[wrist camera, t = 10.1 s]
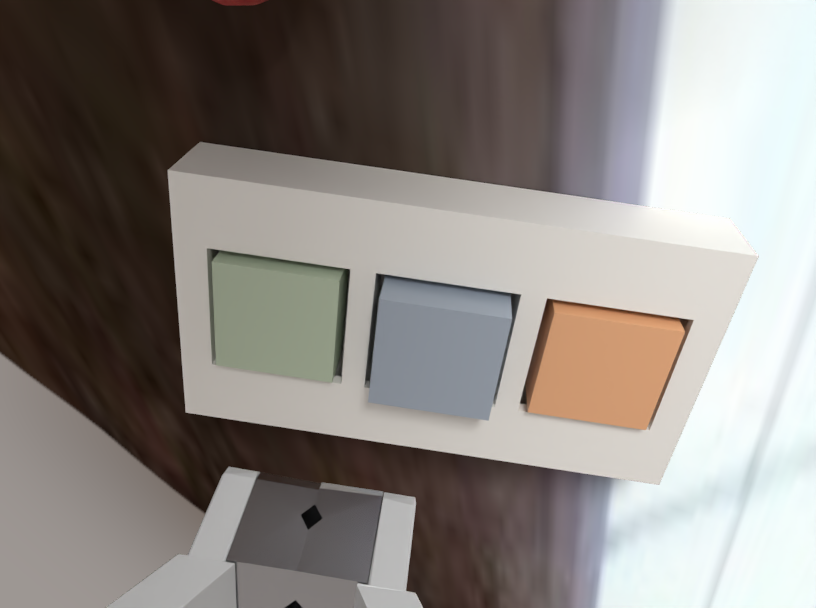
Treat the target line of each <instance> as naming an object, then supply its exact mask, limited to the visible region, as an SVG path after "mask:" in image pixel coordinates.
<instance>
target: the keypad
mask: <svg viewBox="0 0 816 608" xmlns="http://www.w3.org/2000/svg"><path fill="white" fill-rule="evenodd" d="M168 183H169V197H170V210H171V223H172V237H173V250H174V263H175V277H176V290H177V303H178V317H179V330H180V343H181V357H182V370H183V383H184V397H185V410H186V413H192V414H199V415H205V416H212V417H218V418H225V419H231V420H238V421H244V422H251V423H257V424H264V425H271V426H277V427H284V428H290V429H297V430H303V431H310V432H316V433H323V434H329V435H336V436H342V437H349V438H356V439H362V440H369V441H375V442H382V443H388V444H395V445H401V446H408V447H414V448H421V449H427V450H434V451H441V452H447V453H454V454H460V455H467V456H473V457H480V458H486V459H493V460H499V461H506V462H512V463H519V464H526V465H532V466H539V467H545V468H552V469H558V470H565V471H571V472H578V473H584V474H591V475H597V476H604V477H611V478H617V479H624V480H630V481H637V482H643V483H650V484H656V485H659V484H660V482H661V479H662V477H663V475H664V473H665V470H666V468H667V466H668V463H669V461H670V459H671V457H672V454H673V452H674V450H675V447H676V445H677V443H678V440H679V438H680V436H681V434H682V431H683V429H684V427H685V424H686V422H687V420H688V418H689V415H690V413H691V411H692V408H693V406H694V404H695V401H696V399H697V397H698V395H699V392H700V390H701V388H702V385H703V383H704V381H705V379H706V376H707V374H708V372H709V369H710V367H711V365H712V362H713V360H714V358H715V356H716V353H717V351H718V349H719V346H720V344H721V342H722V340H723V337H724V335H725V333H726V330H727V328H728V326H729V323H730V321H731V319H732V317H733V314H734V312H735V310H736V307H737V305H738V303H739V301H740V298H741V296H742V294H743V291H744V289H745V287H746V284H747V282H748V280H749V278H750V275H751V273H752V271H753V268H754V266H755V264H756V262H757V259H758V257H759V256H758V254H757V253H756V252H755V250H754V249H753V248H752V246H751V245H750V244H749V242H748V241H747V240H746V238H745V237H744V236H743V235H742V233H741V232H740V231H739V229H738V228H737V227H736V225H735V224H734V223H733V221H732V220H731V219H730V218H724V217H717V216H711V215H704V214H697V213H690V212H683V211H676V210H669V209H662V208H655V207H648V206H641V205H634V204H627V203H620V202H614V201H607V200H600V199H593V198H586V197H579V196H572V195H565V194H558V193H551V192H544V191H537V190H530V189H523V188H516V187H510V186H503V185H496V184H489V183H482V182H475V181H468V180H461V179H454V178H447V177H440V176H433V175H426V174H419V173H412V172H406V171H399V170H392V169H385V168H378V167H371V166H364V165H357V164H350V163H343V162H336V161H329V160H322V159H315V158H309V157H302V156H295V155H288V154H281V153H274V152H267V151H260V150H253V149H246V148H239V147H232V146H225V145H218V144H211V143H205V142H199V143H198V144H197V145H196V146H195V147H193V148H192V149H191V150H190V151H189V152H188V153H187V154H185V155H184V156H183V157H182V158H181V159H180V160H179V161H177V162H176V163H175V164H174V165H173V166H172V167H171V168H169V169H168ZM220 250H223V251H229V252H236V253H243V254H250V255H256V256H263V257H270V258H277V259H284V260H290V261H297V262H304V263H311V264H317V265H324V266H331V267H338V268H345V269H349V274H348V287H347V300H346V312H345V325H344V338H343V349H342V353H341V356H340V359H339V362H338V366H337V369H336V372H335V375H334V378H333V382H332V383H331V382H324V381H317V380H311V379H304V378H298V377H291V376H284V375H278V374H271V373H265V372H258V371H251V370H245V369H238V368H231V367H225V366H218V365H216V353H215V329H214V305H213V282H212V261H213V259H214V258H215V257H216V255H217V254H218V253H219V251H220ZM385 275H392V276H399V277H406V278H412V279H419V280H426V281H433V282H439V283H446V284H453V285H460V286H466V287H473V288H480V289H487V290H494V291H500V292H507V293H511V308H512V322H511V326H510V331H509V335H508V339H507V344H506V348H505V352H504V356H503V361H502V365H501V369H500V374H499V378H498V382H497V386H496V391H495V395H494V399H493V404H492V408H491V412H490V416H489V421H487V420H481V419H474V418H468V417H461V416H454V415H448V414H441V413H435V412H428V411H421V410H415V409H408V408H402V407H395V406H389V405H382V404H375V403H369V402H368V397H369V388H370V379H371V370H372V361H373V351H374V342H375V333H376V324H377V314H378V305H379V298H380V294H381V290H382V286H383V282H384V278H385ZM547 298H548V299H555V300H561V301H568V302H575V303H582V304H588V305H595V306H602V307H609V308H616V309H622V310H629V311H636V312H643V313H649V314H656V315H663V316H670V317H676V318H679V320H680V322H681V324H682V326H683V328H684V330H685V334H684V336H683V339H682V341H681V344H680V346H679V349H678V351H677V354H676V356H675V359H674V361H673V364H672V367H671V369H670V372H669V374H668V377H667V379H666V382H665V384H664V387H663V389H662V392H661V394H660V397H659V399H658V402H657V404H656V407H655V409H654V412H653V414H652V417H651V419H650V422H649V424H648V427H647V429H646V430H641V429H635V428H628V427H622V426H615V425H608V424H602V423H595V422H588V421H582V420H575V419H569V418H562V417H555V416H549V415H542V414H536V413H529V412H528V410H527V398H526V387H525V381H526V377H527V373H528V370H529V366H530V362H531V358H532V354H533V350H534V347H535V343H536V339H537V335H538V331H539V327H540V324H541V320H542V316H543V312H544V308H545V304H546V301H547Z"/></svg>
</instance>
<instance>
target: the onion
mask: <svg viewBox="0 0 816 608" xmlns="http://www.w3.org/2000/svg"><path fill="white" fill-rule="evenodd" d="M213 1H215V2H217V3H219V4H222V5H257V4H260V3H263V2H265V1H268V0H213Z"/></svg>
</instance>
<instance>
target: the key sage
mask: <svg viewBox="0 0 816 608" xmlns="http://www.w3.org/2000/svg"><path fill="white" fill-rule="evenodd" d="M348 274H349V269H345V268H338V267H331V266H324V265H317V264H311V263H304V262H297V261H290V260H284V259H277V258H270V257H263V256H256V255H250V254H243V253H236V252H229V251H223V250H220V251H219V253H218V254H217V255H216V257H215V258H214V259H213V261H212V282H213V305H214V329H215V353H216V365H218V366H225V367H231V368H238V369H245V370H251V371H258V372H265V373H271V374H278V375H284V376H291V377H298V378H304V379H311V380H317V381H324V382H331V383H332V382H333V378H334V375H335V372H336V369H337V366H338V362H339V359H340V356H341V353H342V349H343V338H344V325H345V312H346V300H347V287H348Z"/></svg>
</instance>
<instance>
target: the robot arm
mask: <svg viewBox="0 0 816 608" xmlns="http://www.w3.org/2000/svg"><path fill="white" fill-rule="evenodd" d="M382 497H383V500H382ZM381 505H382V506H381ZM415 508H416V500H415V497H410V496H404V495H398V494H391V493H385V492H384V494H383V491H376V490H370V489H363V488H356V487H349V486H343V485H336V484H329V483H322V484H321V483H316V482H311V481H305V480H300V479H295V478H290V477H284V476H279V475H274V474H268V473H263V472H257V471H251V470H245V469H240V468H234V467H228V468H227V470H226V471H225V472H224V473H223V475H222V477H221V479H220V481H219V484H218V486H217V488H216V491H215V493H214V495H213V497H212V500H211V502H210V504H209V507H208V509H207V511H206V514H205V516H204V519H203V521H202V523H201V525H200V528H199V530H198V532H197V534H196V537H195V539H194V541H193V544H192V546H191V548H190V551H189V553H188V555H183V554H177V555H176V556H174V557H173V558H172V559H170V560H169V561H168V562H166V563H165V564H164V565H162V566H161V567H160V568H158V569H157V570H155V571H154V572H153V573H151V574H150V575H149V576H147V577H146V578H145V579H143V580H142V581H141V582H139V583H138V584H137V585H135V586H134V587H133V588H131V589H130V590H129V591H127V592H126V593H125V594H123V595H122V596H121V597H119V598H118V599H117V600H115V601H114V602H112V603H111V604H110V605H108V606H107V607H106V608H423V607H422V605H421V603H420V601H419V599H418V597H417V595H416V593H413V592H408V591H406V586H407V578H408V569H409V560H410V551H411V543H412V534H413V525H414V516H415Z"/></svg>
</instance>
